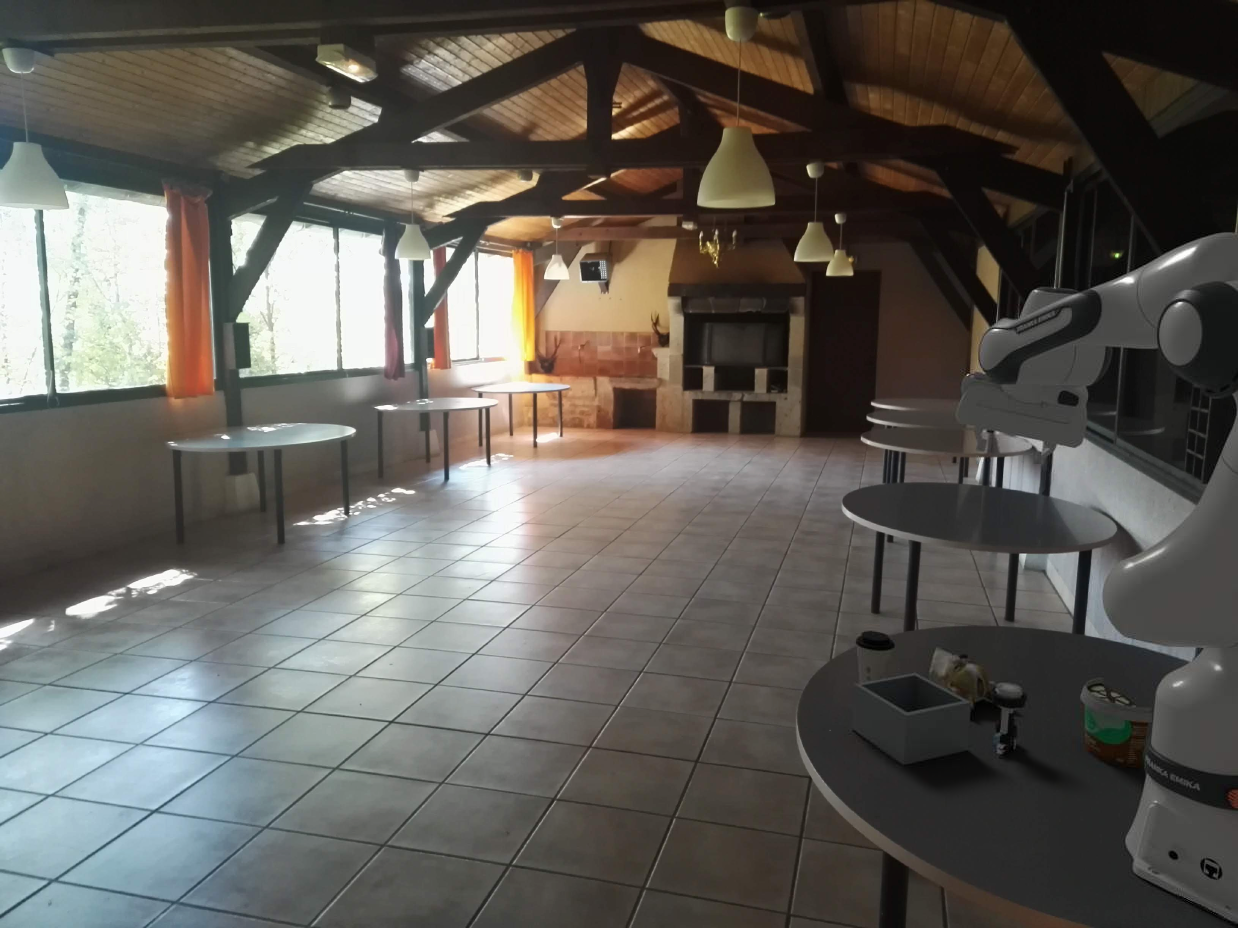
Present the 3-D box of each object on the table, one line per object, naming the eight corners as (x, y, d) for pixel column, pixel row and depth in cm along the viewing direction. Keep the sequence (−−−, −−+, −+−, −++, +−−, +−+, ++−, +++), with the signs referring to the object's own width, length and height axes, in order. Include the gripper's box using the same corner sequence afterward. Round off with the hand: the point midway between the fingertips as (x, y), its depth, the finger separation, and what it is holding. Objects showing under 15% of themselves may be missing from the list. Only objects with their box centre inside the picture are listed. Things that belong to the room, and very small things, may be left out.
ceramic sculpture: (960, 635, 164) (1022, 668, 150) (956, 677, 166) (1016, 715, 152) (914, 642, 160) (973, 678, 146) (910, 686, 162) (967, 725, 148)
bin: (967, 749, 138) (971, 702, 136) (903, 764, 133) (906, 715, 132) (912, 717, 149) (915, 672, 148) (851, 729, 144) (854, 684, 143)
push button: (1016, 761, 134) (1021, 700, 132) (980, 751, 137) (984, 691, 136) (1026, 745, 139) (1031, 685, 138) (991, 735, 142) (995, 677, 141)
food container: (1059, 735, 143) (1064, 677, 141) (1095, 734, 143) (1100, 676, 142) (1108, 774, 130) (1114, 710, 129) (1147, 772, 131) (1153, 709, 129)
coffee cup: (900, 691, 160) (903, 638, 158) (871, 698, 157) (874, 645, 155) (874, 677, 166) (876, 627, 164) (845, 684, 163) (847, 632, 161)
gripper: (963, 375, 146) (944, 449, 152) (1097, 402, 139) (1071, 478, 145) (967, 363, 151) (948, 435, 157) (1096, 388, 144) (1071, 463, 150)
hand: (1008, 456), depth 151 cm, fingers open, 8 cm apart
